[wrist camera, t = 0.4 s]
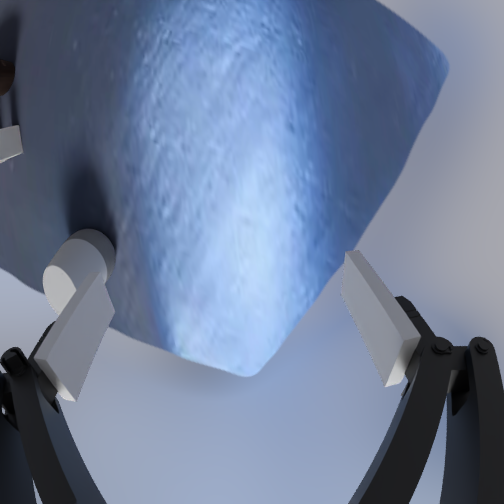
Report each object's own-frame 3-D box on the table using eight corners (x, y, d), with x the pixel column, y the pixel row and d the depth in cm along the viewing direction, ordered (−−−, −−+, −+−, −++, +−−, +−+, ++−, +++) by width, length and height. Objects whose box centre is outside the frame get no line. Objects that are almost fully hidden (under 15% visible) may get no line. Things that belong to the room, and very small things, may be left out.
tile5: (12, 128, 32) (-23, 137, 24) (18, 124, 32) (-17, 133, 24) (16, 155, 34) (-18, 168, 26) (23, 152, 34) (-11, 164, 26)
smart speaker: (78, 214, 40) (30, 255, 28) (126, 236, 42) (90, 286, 30) (69, 261, 44) (30, 308, 31) (113, 282, 46) (83, 336, 34)
